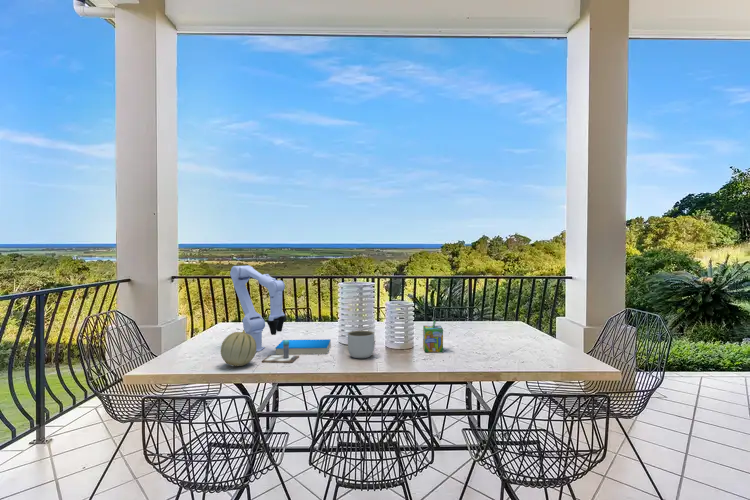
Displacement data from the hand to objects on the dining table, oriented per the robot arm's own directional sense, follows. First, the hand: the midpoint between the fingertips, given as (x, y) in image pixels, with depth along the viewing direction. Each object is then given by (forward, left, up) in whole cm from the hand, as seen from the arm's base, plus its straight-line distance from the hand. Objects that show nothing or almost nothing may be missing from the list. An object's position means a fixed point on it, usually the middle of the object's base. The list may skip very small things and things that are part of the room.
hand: (276, 333), depth 186 cm
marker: (+8, -11, -9) cm, 16 cm away
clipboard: (+6, -11, -10) cm, 16 cm away
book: (+12, +7, -11) cm, 17 cm away
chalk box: (+76, +12, -10) cm, 78 cm away
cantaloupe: (-9, -21, -10) cm, 25 cm away
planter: (+42, -2, -10) cm, 43 cm away
